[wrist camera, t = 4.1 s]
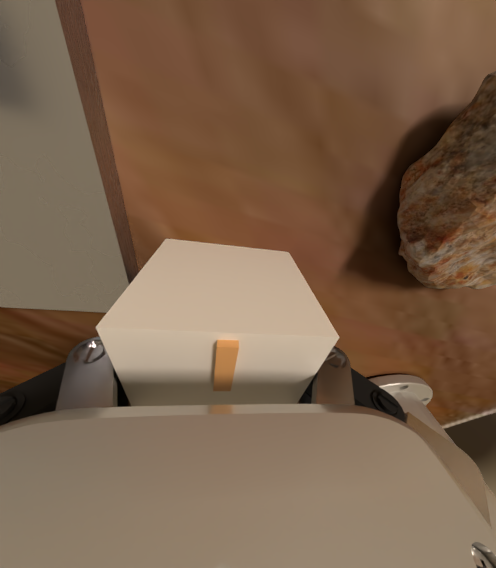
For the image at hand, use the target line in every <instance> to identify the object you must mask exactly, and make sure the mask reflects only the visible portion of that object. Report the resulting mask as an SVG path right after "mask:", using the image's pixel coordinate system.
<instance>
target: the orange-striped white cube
mask: <svg viewBox="0 0 496 568" xmlns="http://www.w3.org/2000/svg"><path fill="white" fill-rule="evenodd" d="M96 329H97V331H98V334H99V336H100V338H101V340H102V342H103V345H104V347H105V349H106V351H107V353H108V356H109V358H110V360H111V362H112V364H113V367H114V369H115V371H116V373H117V375H118V378H119V380H120V382H121V384H122V386H123V389H124V391H125V393H126V395H127V397H128V400H129V402H130V404H131V406H182V405H245V404H297V402H298V401H299V399H300V398H301V396H302V395H303V393H304V391H305V390H306V388H307V387H308V385H309V384H310V382H311V381H312V379H313V378H314V376H315V374H316V373H317V371H318V370H319V368H320V367H321V365H322V364H323V362H324V361H325V359H326V357H327V356H328V354H329V353H330V351H331V350H332V348H333V347H334V345H335V344H336V342H337V340H338V339H339V336H338V334H337V333H336V331H335V329H334V328H333V326H332V324H331V322H330V321H329V319H328V317H327V316H326V314H325V312H324V311H323V309H322V307H321V306H320V304H319V302H318V301H317V299H316V297H315V296H314V294H313V292H312V291H311V289H310V287H309V286H308V284H307V282H306V281H305V279H304V277H303V276H302V274H301V272H300V271H299V269H298V267H297V265H296V264H295V262H294V260H293V259H292V257H291V255H290V254H289V252H284V251H275V250H266V249H257V248H248V247H238V246H229V245H220V244H211V243H202V242H193V241H184V240H175V239H165V241H164V242H163V243H162V244H161V246H160V247H159V248H158V249H157V251H156V252H155V253H154V254H153V256H152V257H151V258H150V260H149V261H148V262H147V263H146V265H145V266H144V267H143V268H142V270H141V271H140V272H139V273H138V275H137V276H136V277H135V278H134V280H133V281H132V282H131V283H130V285H129V286H128V287H127V288H126V290H125V291H124V292H123V293H122V295H121V296H120V297H119V298H118V300H117V301H116V302H115V304H114V305H113V306H112V307H111V309H110V310H109V311H108V312H107V314H106V315H105V316H104V317H103V319H102V320H101V321H100V322H99V324H98V325H97V326H96Z"/></svg>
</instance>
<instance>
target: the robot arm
mask: <svg viewBox="0 0 496 568" xmlns="http://www.w3.org/2000/svg"><path fill="white" fill-rule="evenodd" d="M432 395H433V391H432V390H431V388H430V387H429V386H428V385H427V383H426V382H425V381H424V380H423V379H421V378H419V377H416V376H412V375H402V374H397V375H386V376H380V377H375V378H371V379H367V378H365V377H364V376H362V375H361V374H359V373H358V372H356V371H355V370H353V369H352V368H351V367H350V362H349V359H348V357H347V355H346V354H345V353H344V352H343V351H342V350H340V349H339V348H337V347H335V346H334V347H333V348H332V350H331V351H330V353H329V354H328V356H327V357H326V359H325V361H324V362H323V364H322V365H321V367H320V368H319V370H318V371H317V373H316V374H315V376H314V378H313V379H312V381H311V382H310V384H309V385H308V387H307V388H306V390H305V391H304V393H303V395H302V396H301V398H300V399H299V401H298V402H297V404H245V405H182V406H132V407H131V404H130V402H129V400H128V397H127V395H126V393H125V391H124V389H123V386H122V384H121V382H120V380H119V378H118V375H117V373H116V371H115V369H114V367H113V364H112V362H111V360H110V358H109V356H108V353H107V351H106V349H105V347H104V345H103V342H102V340H101V338H100V337H94V338H91V339H88V340H85V341H83V342H81V343H79V344H78V345H77V346H76V347H74V348H73V349H72V350H71V352H70V353H69V355H68V357H67V361H66V362H65V363H63V364H61V365H59V366H57V367H55V368H53V369H51V370H48V371H46V372H44V373H42V374H40V375H38V376H36V377H34V378H32V379H30V380H28V381H26V382H24V383H21V384H19V385H17V386H15V387H13V388H11V389H9V390H7V391H5V392H3V393H1V394H0V568H496V497H495V495H494V494H493V493H492V491H491V490H490V489H489V487H488V486H487V485H486V484H485V482H484V479H483V476H482V474H481V472H480V470H479V468H478V467H477V465H476V464H475V463H474V462H473V461H472V459H471V458H470V457H469V456H468V455H467V454H466V453H465V452H463V451H462V450H461V449H460V448H458V447H457V446H456V445H455V444H454V442H453V441H452V440H451V439H450V438H449V436H448V435H447V434H446V432H445V431H444V429H443V428H442V427H441V426H440V424H439V423H438V422H437V420H436V419H435V418H434V417H433V415H432V414H431V413H430V411H429V410H428V409H427V408H426V405H427V404H428V403H429V402H430V400H431V398H432Z"/></svg>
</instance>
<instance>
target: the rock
mask: <svg viewBox="0 0 496 568" xmlns="http://www.w3.org/2000/svg"><path fill="white" fill-rule="evenodd" d="M399 198H400V200H399V201H400V208H399V210H398V214H397V224H398V227H399V231H400V238H401V239H402V241H401V246H400V249H399V255H401V256H403V257H404V259H405V260H406V261H407V267H408V271H409V272H410V273H411V274H412V275H413V276H415V277H416V279H417V280H418V281H420V282H421V283H422V284H423V285H424V286H426V287H428V288H437V289H442V288H461V287H464V286H466V287H470V288H473V289H482V288H485V287H488V286H492V285H496V71H495V72H493V73H491V74H488V75H487V76H486V77H485V78H484V80H483V82H482V84H481V86H480V88H479V90H478V92H477V94H476V96H475V97H474V99H473V100H472V102H471V103H470V104H469V105H468V106H467V107H466V108H465V109H464V110H463V112H462V113H461V114H460V115H459V116H458V117H457V118H456V119H455V120H454V121H453V122H452V123H451V125H450V126H449V127H448V129H447V130H446V132H445V133H444V135H443V136H442V138H441V139H440V141H439V142H438V143H437V145H436V146H435V147H434V148H433V149H432V150H430V151H429V152H428V153H427V154H426V155H424V156H423V157H422V158H420V159H419V160H417V161H416V162H415V163H413V164H412V165H410V166H409V168H408V169H407V170H406V172H405V174H404V175H403V178H402V181H401V189H400V193H399Z"/></svg>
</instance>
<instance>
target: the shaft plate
mask: <svg viewBox="0 0 496 568" xmlns="http://www.w3.org/2000/svg"><path fill="white" fill-rule="evenodd" d="M138 273H139V272H138V267H137V263H136V258H135V253H134V249H133V244H132V239H131V235H130V230H129V225H128V221H127V216H126V212H125V207H124V202H123V198H122V193H121V188H120V184H119V179H118V174H117V170H116V165H115V161H114V156H113V151H112V147H111V142H110V137H109V133H108V128H107V123H106V119H105V114H104V109H103V105H102V100H101V96H100V91H99V86H98V82H97V77H96V72H95V68H94V63H93V58H92V54H91V49H90V45H89V40H88V35H87V31H86V26H85V21H84V17H83V12H82V7H81V3H80V0H0V307H10V308H29V309H48V310H67V311H86V312H106V313H107V312H108V311H109V310H110V309H111V307H112V306H113V305H114V304H115V302H116V301H117V300H118V298H119V297H120V296H121V295H122V293H123V292H124V291H125V290H126V288H127V287H128V286H129V285H130V283H131V282H132V281H133V280H134V278H135V277H136V276H137V275H138Z"/></svg>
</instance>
